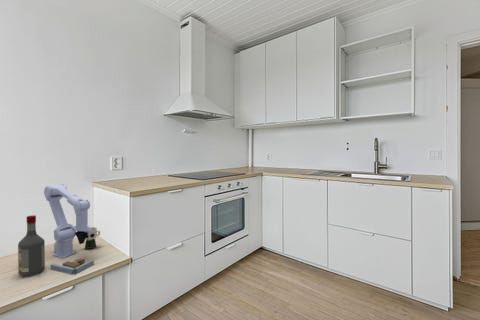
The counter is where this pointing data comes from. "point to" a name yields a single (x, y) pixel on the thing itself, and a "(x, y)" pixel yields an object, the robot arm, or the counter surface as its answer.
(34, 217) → the liquor
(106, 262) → the counter surface
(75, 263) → the walnut tee
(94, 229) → the character mug
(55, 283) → the counter surface
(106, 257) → the counter surface
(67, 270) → the slate fence
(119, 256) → the counter surface
